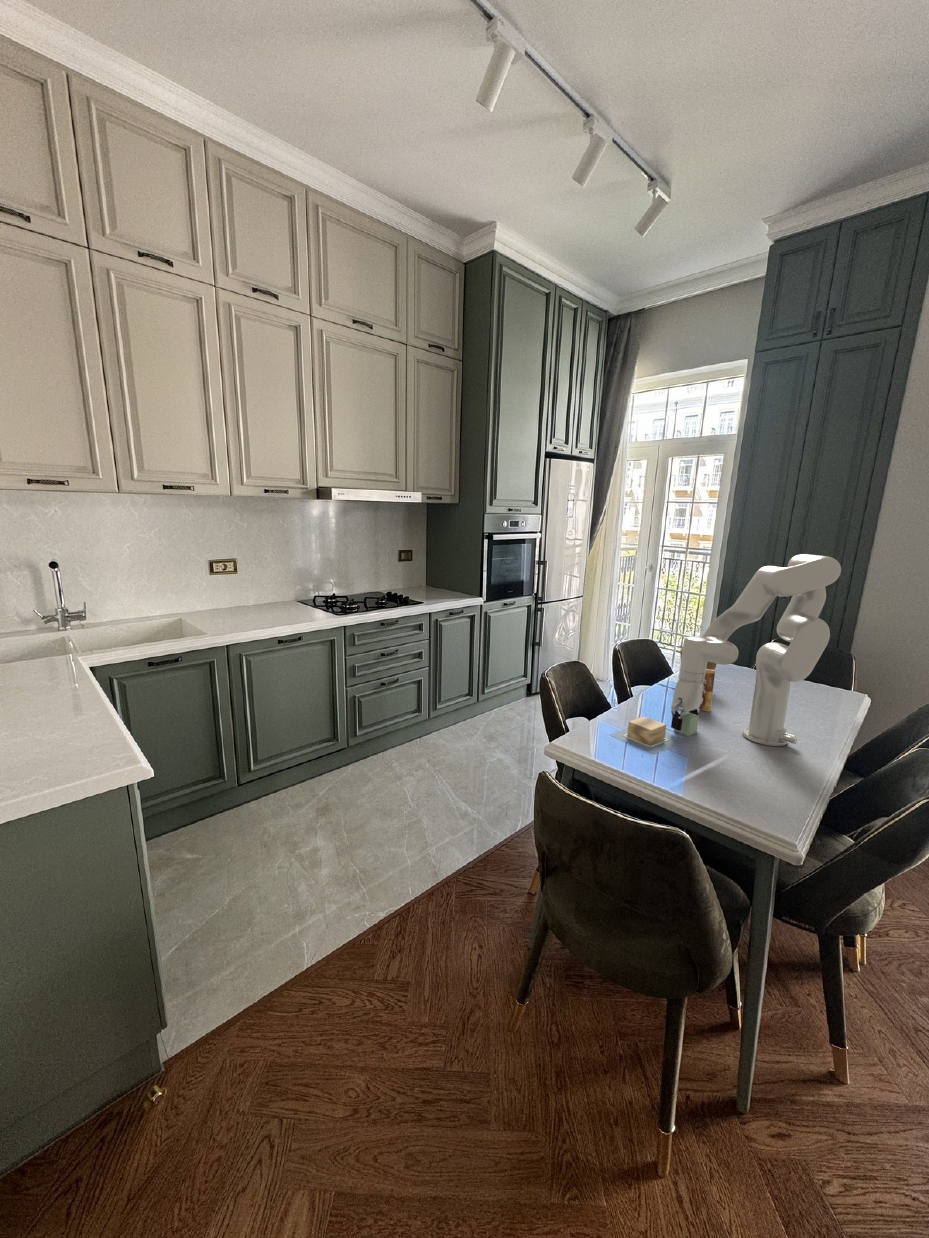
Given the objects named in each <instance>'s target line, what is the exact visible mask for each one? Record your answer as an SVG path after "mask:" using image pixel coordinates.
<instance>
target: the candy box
mask: <svg viewBox="0 0 929 1238" xmlns="http://www.w3.org/2000/svg"><path fill="white" fill-rule="evenodd" d="M715 674H716V669H715V670H712V669H706V672H705V678H704V683H703V691H702V698H703V701H702V703H701V707H700V711H704V712H711V709H712V700H713V693H714V692H713V691H714V684H715V676H716V675H715Z"/></svg>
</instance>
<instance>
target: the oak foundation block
mask: <svg viewBox="0 0 929 1238" xmlns="http://www.w3.org/2000/svg"><path fill="white" fill-rule="evenodd" d="M627 726H628V727H627V728H628V734H627V737H630V738H632V739H635V740H637V741H639V742H642V743H644V744H647V745H649V746H650V745H653V744H655V743H658V742H660V741H663V740H665V734H666V731H667V724H666V723H663V722H661V721H657V720H655V719H652V718H649V717H647V716H641V717H638V718H635V719H633V720H629V721H628V725H627Z"/></svg>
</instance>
